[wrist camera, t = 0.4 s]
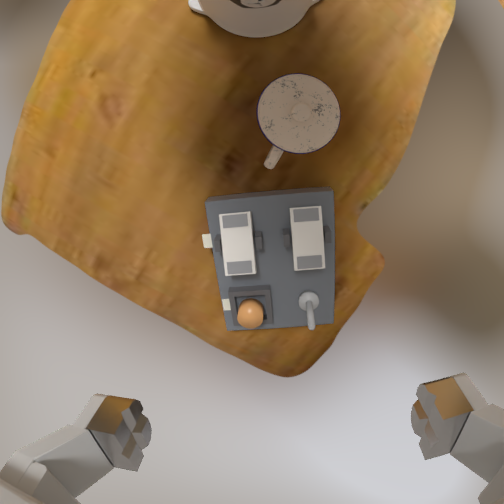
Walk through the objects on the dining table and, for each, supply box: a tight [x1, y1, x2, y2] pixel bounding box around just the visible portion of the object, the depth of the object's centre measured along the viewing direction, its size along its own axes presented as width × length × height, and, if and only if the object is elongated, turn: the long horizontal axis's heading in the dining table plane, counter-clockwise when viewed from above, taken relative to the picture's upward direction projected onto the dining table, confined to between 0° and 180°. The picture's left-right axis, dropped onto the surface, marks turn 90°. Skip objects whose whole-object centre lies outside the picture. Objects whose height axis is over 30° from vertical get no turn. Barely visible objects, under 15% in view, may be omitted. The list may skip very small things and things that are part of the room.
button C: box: [237, 298, 263, 329], centre depth 44 cm, size 4×4×2 cm
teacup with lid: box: [257, 73, 340, 169], centre depth 34 cm, size 12×9×12 cm
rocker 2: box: [289, 206, 325, 271], centre depth 40 cm, size 8×4×2 cm, turn 7°
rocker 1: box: [219, 211, 257, 276], centre depth 41 cm, size 8×4×2 cm, turn 6°
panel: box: [202, 186, 335, 331], centre depth 43 cm, size 21×18×8 cm
